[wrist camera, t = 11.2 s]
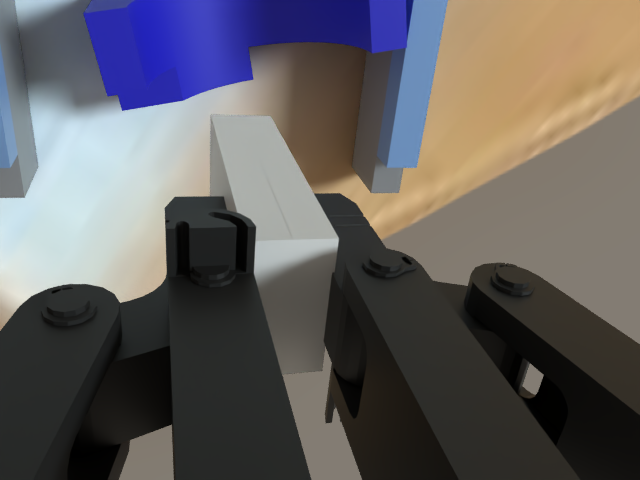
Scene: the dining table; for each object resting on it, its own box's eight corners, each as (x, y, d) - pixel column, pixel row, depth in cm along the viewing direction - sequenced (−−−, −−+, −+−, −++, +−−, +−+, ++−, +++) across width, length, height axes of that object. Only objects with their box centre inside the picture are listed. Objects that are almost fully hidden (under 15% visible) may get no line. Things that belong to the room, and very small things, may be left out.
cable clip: (125, 91, 28) (118, 133, 23) (97, -9, 26) (83, 13, 21) (365, 52, 30) (407, 83, 25) (359, -45, 28) (405, -33, 23)
